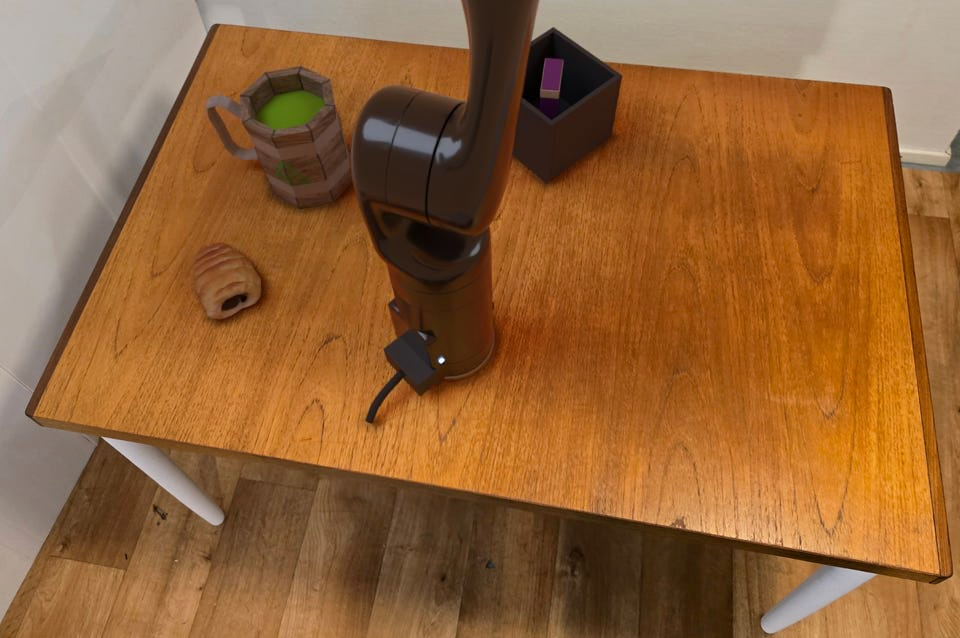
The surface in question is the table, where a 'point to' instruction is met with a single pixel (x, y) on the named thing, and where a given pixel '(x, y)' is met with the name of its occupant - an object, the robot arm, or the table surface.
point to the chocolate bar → (551, 87)
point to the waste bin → (565, 107)
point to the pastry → (224, 280)
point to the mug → (291, 135)
